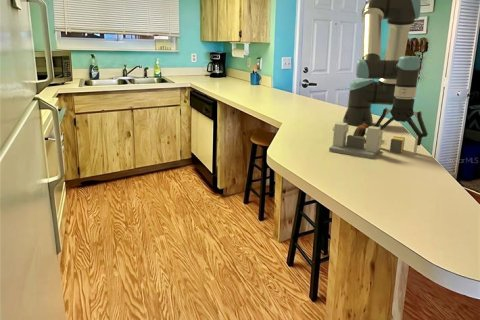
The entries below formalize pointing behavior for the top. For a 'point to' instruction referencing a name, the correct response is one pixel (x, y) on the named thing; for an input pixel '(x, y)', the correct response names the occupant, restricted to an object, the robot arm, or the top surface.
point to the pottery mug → (361, 130)
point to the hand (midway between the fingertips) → (396, 150)
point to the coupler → (397, 144)
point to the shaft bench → (356, 141)
